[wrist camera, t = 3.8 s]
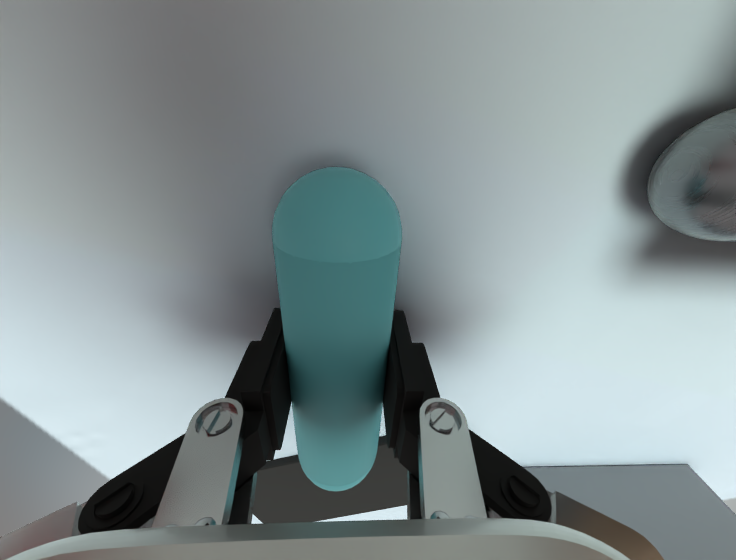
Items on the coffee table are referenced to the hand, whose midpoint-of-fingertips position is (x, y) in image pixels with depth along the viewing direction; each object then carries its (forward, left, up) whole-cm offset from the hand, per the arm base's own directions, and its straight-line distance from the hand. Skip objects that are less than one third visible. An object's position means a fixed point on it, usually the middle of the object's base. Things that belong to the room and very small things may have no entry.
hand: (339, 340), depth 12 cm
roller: (0, 0, -1) cm, 1 cm away
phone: (+12, +1, -1) cm, 12 cm away
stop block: (+12, +16, -1) cm, 20 cm away
